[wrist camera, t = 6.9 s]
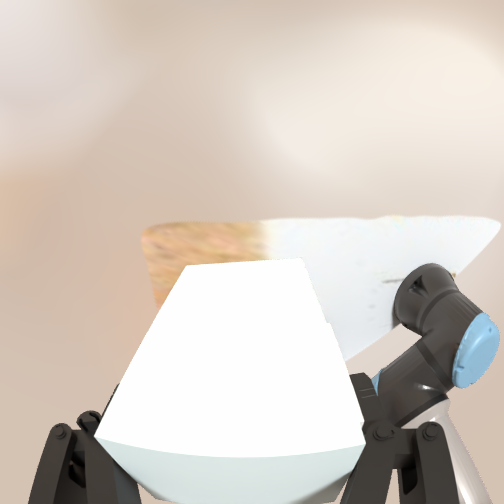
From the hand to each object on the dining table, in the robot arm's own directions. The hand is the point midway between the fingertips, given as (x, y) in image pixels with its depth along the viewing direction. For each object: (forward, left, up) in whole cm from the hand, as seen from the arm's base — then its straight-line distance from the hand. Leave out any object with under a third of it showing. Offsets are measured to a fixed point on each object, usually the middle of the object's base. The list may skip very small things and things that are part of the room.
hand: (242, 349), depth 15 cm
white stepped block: (0, +9, -6) cm, 10 cm away
